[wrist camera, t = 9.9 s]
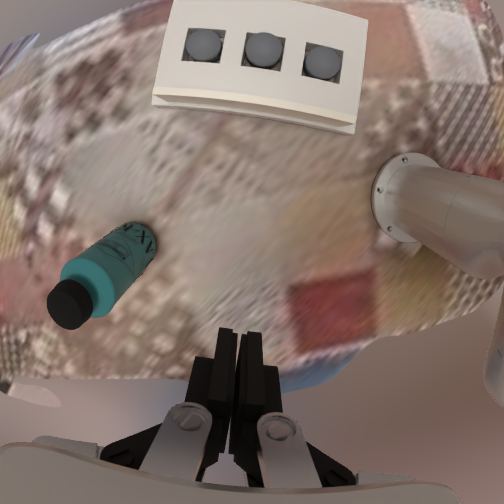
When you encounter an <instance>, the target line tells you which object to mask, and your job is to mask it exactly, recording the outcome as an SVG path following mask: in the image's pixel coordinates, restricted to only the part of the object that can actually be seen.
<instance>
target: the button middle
mask: <svg viewBox="0 0 504 504" xmlns="http://www.w3.org/2000/svg"><path fill="white" fill-rule="evenodd" d="M281 52H282V44H281V42H280V40H279V39H278V38H277V37H276V36H275V35H273V34H271V33H267V32H261V33H257V34H254V35H253V36H251V37H250V38H249V39H248V41H247V43H246V57H247V60H248V62H249V63H250V64H251V65H252V66H253V67H255V68H261V69H269V68H272V67H274V66H275V65H276V64H277V63H278V61H279V58H280V55H281Z"/></svg>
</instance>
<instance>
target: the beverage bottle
mask: <svg viewBox="0 0 504 504" xmlns="http://www.w3.org/2000/svg"><path fill="white" fill-rule="evenodd" d="M120 226H121V227H119V228H118V229H116V230H115V229H114V230H115V231H113V230H112V231H111V233H109V234H108V235H106V236H105V237H103V239H101V240H99V241H98V242H97V243H95V244H94V245H91V247H89V248H88V249H87V248H86V249H87V250H86V251H84V252H83V253H81V254H80V255H78V256H77V257H75V258H74V259H72V260H70V261H69V262H67V263H66V264H65V266H64V267H63V269H62V271H61V276H60V282H59V283H58V284H57V285H56V286H55V287H54V289H53V290H52V291H51V292H50V293H49V295H48V297H47V309H48V312H49V314H50V316H51V317H52V319H53V320H54V321H55V322H56V323H57V324H58V325H59V326H61V327H63V328H65V329H68V330H74V329H77V328H79V327H80V326H81V325H82V324H83V323H84V322H86V321H87V320H88V319H89V318H99V317H103V316H105V315H106V314H108V313H109V312H110V311H111V309H112V308H113V306H114V305H115V303H116V302H117V301H118V300H119V299H120V297H121V296H122V295H123V294H124V293H125V291H126V290H127V289H128V288H129V287H130V286H131V285H132V284H133V282H135V280H136V279H137V278H138V276H139V275H140V274H141V273H142V272H143V270H144V269H145V270H146V269H147V268H148V265H149V263H150V262H151V261H152V260H153V258H154V256H155V255H156V254H155V251H156V243H155V240H154V237H153V235H152V234H151V232H150V231H149V230H148V229H147V228H146V227H144V226H143V225H140V224H138V223H133V222H129V223H128V224H127V223H126V224H125V225H123V226H122V225H120ZM146 267H147V268H146ZM142 274H143V273H142ZM142 274H141V275H142Z"/></svg>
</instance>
